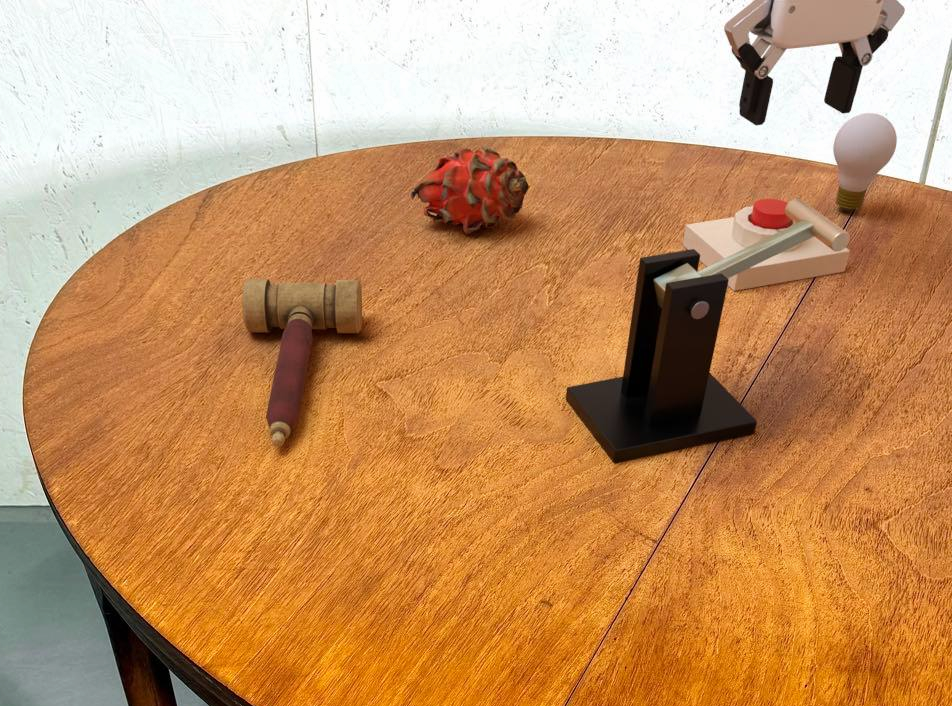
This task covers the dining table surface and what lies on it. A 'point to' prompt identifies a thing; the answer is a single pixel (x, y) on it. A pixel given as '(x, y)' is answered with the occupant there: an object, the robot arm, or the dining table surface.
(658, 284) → the lever
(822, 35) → the robot arm
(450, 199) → the dragon fruit
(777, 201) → the button
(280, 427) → the gavel
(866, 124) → the light bulb
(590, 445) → the dining table surface
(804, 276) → the button box
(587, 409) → the bracket
